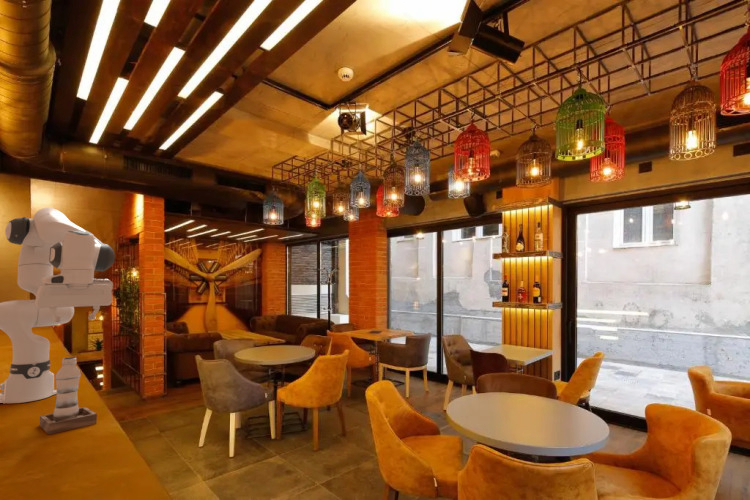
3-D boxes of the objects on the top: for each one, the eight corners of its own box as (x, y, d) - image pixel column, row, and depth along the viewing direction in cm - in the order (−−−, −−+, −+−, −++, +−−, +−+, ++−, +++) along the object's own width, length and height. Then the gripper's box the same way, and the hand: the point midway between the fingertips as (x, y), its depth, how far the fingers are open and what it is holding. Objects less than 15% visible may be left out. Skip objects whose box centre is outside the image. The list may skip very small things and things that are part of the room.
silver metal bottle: (64, 425, 121) (69, 360, 123) (46, 424, 122) (51, 359, 124) (83, 418, 127) (87, 356, 129) (66, 417, 128) (70, 356, 130)
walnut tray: (39, 425, 124) (40, 416, 124) (84, 415, 133) (85, 406, 133) (48, 434, 116) (49, 424, 117) (96, 423, 126) (96, 413, 126)
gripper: (110, 279, 139) (107, 318, 138) (35, 278, 123) (32, 322, 122) (116, 278, 135) (114, 319, 134) (40, 278, 119) (37, 323, 118)
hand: (74, 320), depth 128 cm, fingers open, 8 cm apart
